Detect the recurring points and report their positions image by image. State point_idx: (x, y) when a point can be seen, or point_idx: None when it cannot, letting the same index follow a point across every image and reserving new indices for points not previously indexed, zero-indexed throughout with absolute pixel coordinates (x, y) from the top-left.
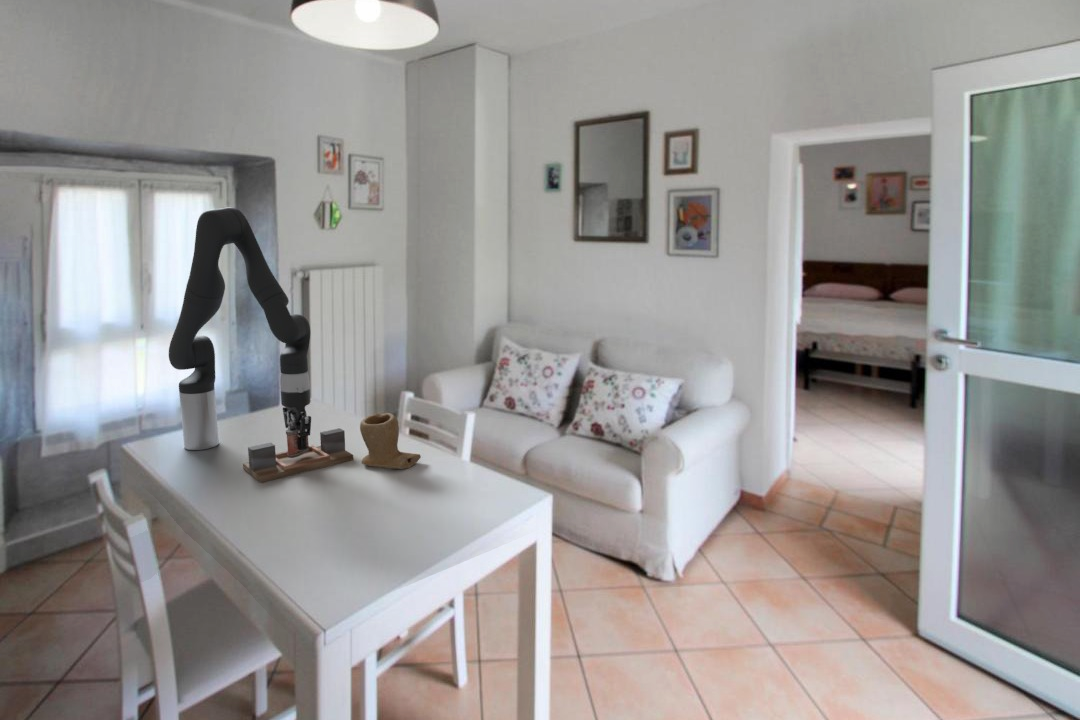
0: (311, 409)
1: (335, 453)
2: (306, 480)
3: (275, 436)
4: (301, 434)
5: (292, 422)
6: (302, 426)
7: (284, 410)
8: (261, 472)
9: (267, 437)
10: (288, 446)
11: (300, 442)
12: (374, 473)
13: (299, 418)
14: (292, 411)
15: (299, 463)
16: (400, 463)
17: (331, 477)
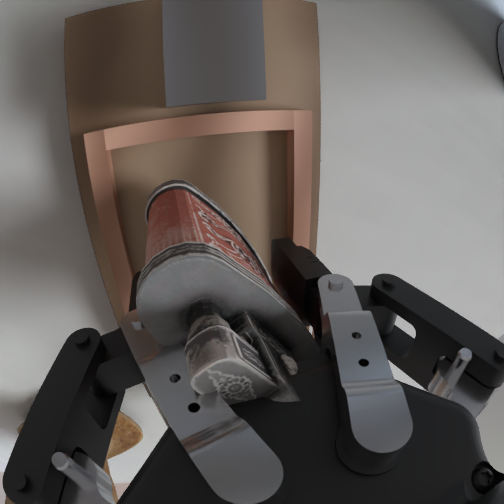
0: (501, 322)
1: None
2: (5, 207)
3: (478, 228)
4: (63, 349)
5: (218, 388)
6: (29, 419)
7: (486, 362)
8: (123, 27)
9: (485, 208)
10: (167, 207)
11: None
12: (22, 387)
13: (130, 483)
14: (329, 494)
15: (98, 217)
16: None
17: (9, 292)
